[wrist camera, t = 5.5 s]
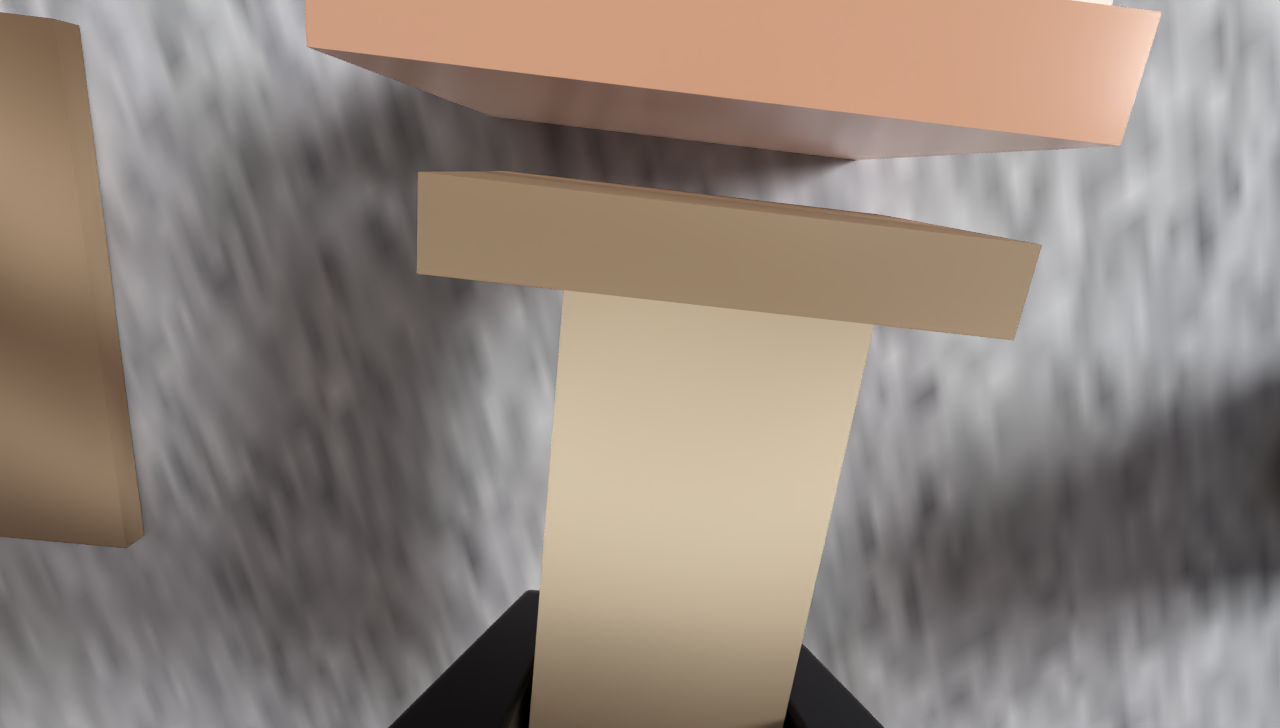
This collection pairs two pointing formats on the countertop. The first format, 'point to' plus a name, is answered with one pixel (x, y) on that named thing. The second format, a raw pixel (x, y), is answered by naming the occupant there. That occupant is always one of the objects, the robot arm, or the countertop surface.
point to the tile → (770, 68)
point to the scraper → (698, 417)
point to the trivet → (57, 306)
